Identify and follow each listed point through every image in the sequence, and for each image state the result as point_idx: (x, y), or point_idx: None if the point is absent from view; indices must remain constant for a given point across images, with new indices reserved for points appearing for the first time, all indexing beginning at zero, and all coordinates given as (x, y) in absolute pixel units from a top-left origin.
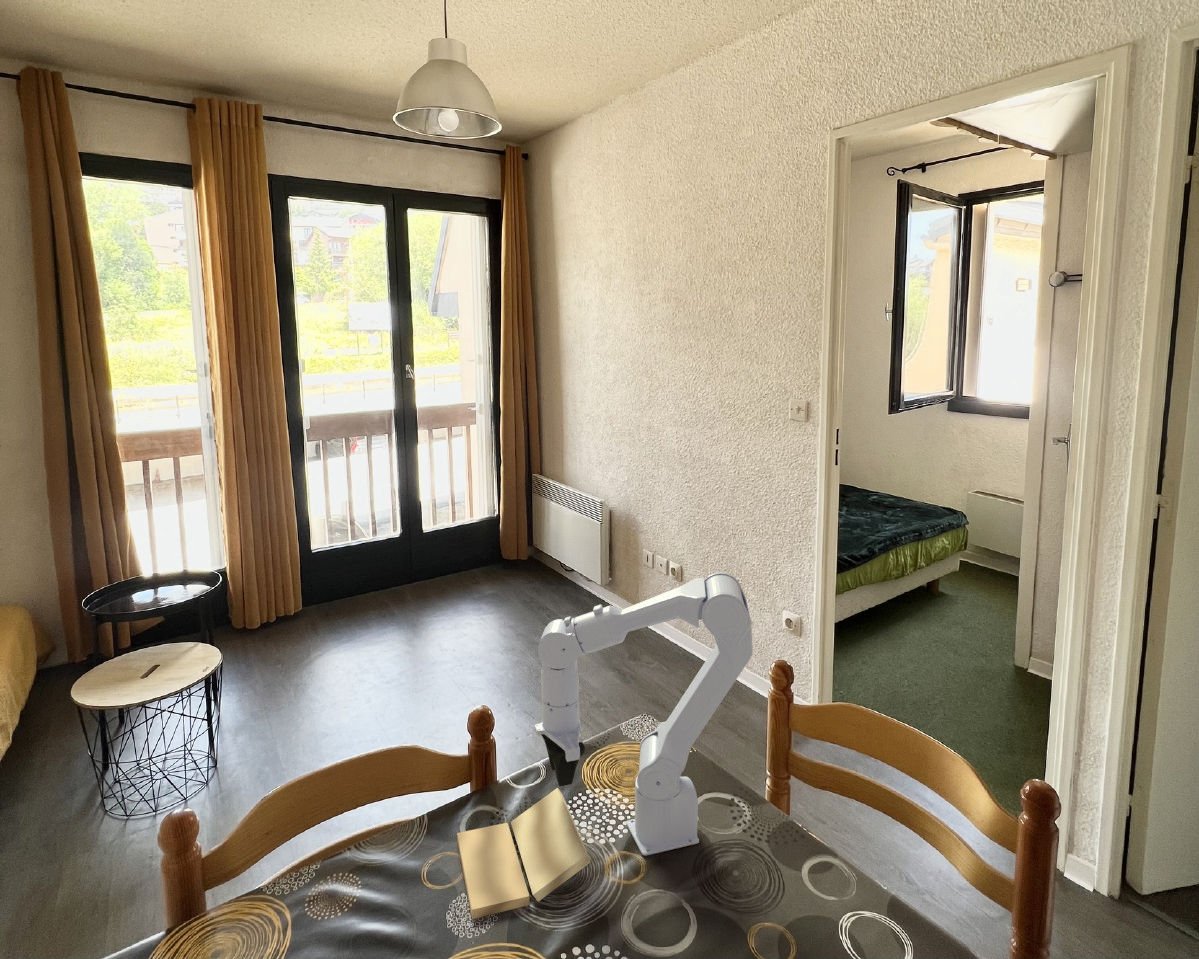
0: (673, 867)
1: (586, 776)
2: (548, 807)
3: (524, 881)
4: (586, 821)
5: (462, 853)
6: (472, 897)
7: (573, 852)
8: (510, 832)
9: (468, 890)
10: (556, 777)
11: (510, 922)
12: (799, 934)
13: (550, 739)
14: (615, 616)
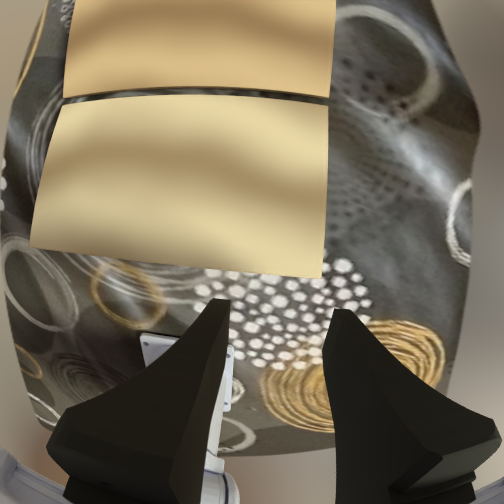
0: (115, 352)
1: (403, 329)
2: (269, 218)
3: (97, 91)
4: (275, 285)
5: None
6: None
7: (55, 222)
8: (283, 90)
9: None
10: (220, 315)
11: (60, 61)
12: (34, 381)
13: (381, 441)
14: None
